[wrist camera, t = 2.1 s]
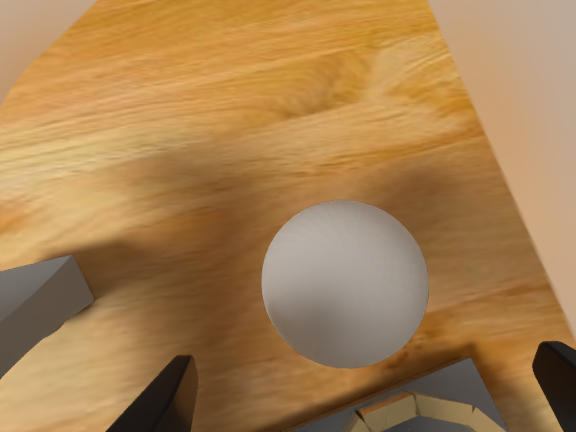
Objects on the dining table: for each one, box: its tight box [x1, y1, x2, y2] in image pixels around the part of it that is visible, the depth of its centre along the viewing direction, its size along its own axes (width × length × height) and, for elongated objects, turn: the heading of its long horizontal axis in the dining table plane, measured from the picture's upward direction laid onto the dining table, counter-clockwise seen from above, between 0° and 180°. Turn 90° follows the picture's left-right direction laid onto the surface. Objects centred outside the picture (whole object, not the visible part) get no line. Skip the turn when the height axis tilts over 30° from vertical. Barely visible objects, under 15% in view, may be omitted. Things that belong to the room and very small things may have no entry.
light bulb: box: [261, 200, 429, 369], centre depth 14 cm, size 6×6×10 cm
